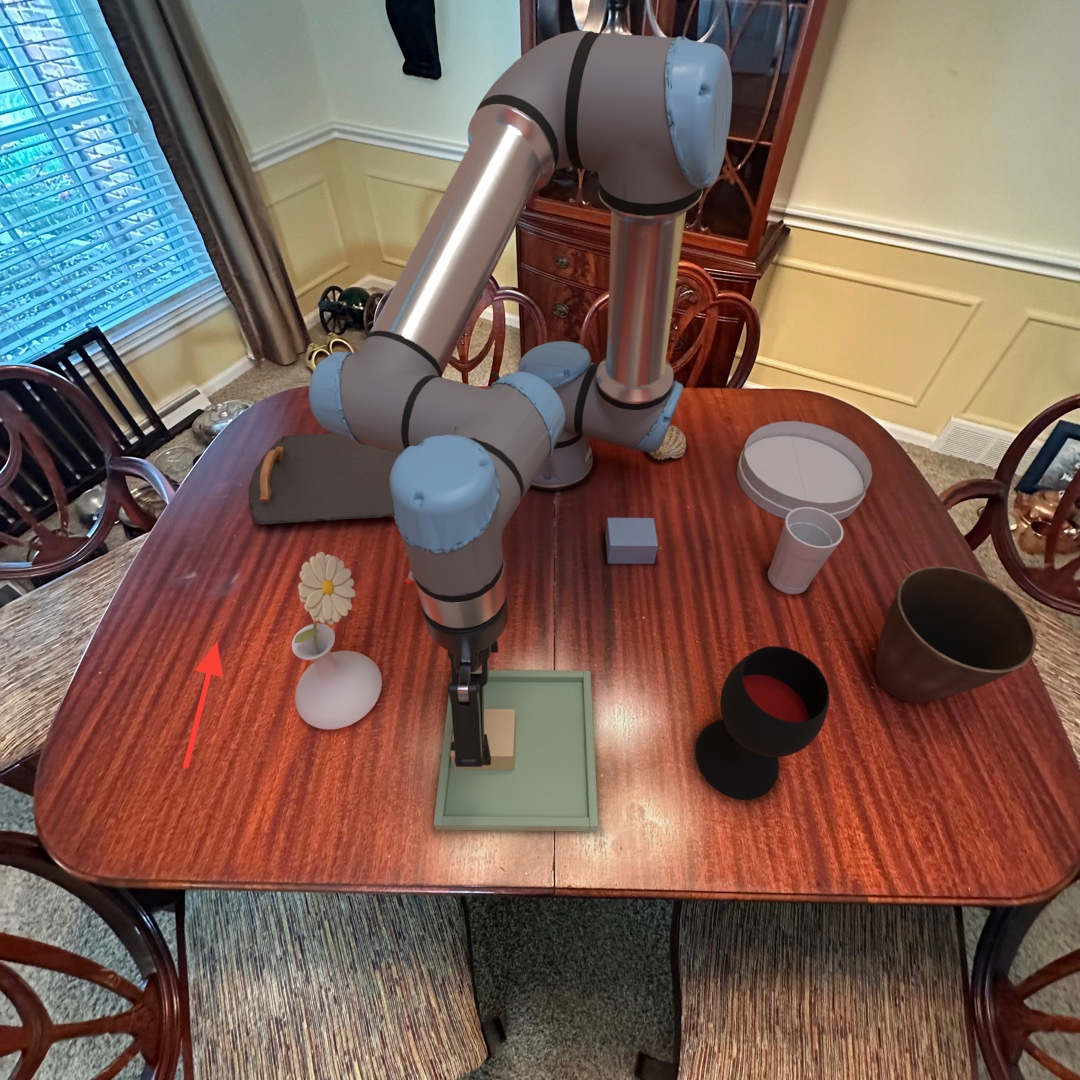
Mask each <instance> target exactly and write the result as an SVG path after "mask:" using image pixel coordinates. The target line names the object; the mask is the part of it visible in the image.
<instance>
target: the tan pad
mask: <svg viewBox="0 0 1080 1080" xmlns="http://www.w3.org/2000/svg"><path fill="white" fill-rule="evenodd" d="M484 734H487V739H488V744H489V749H490V755H491V765H483V766H482V767H456V766H455V751H451V754H450V756H451V760H452V763H453V766H454V769H455V770H514V769H515V743H516V715H515V709H484ZM452 741H454V735H452Z"/></svg>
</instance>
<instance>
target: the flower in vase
mask: <svg viewBox="0 0 1080 1080" xmlns="http://www.w3.org/2000/svg"><path fill="white" fill-rule="evenodd" d="M298 574H299V578H300V580H301V582H299V583H298V586H297V588H298V595H299V600H300V602H301V603H304V606H303V607H304V610H305V611H306V612H307V613H309V616H311V617H310V618H311V619H312V620H313V623H311V624H308V625H306V626H304V627H302V628H300V630H299V631H298V632H296V634H295V635H294V636H293V638H292V641H291V650H292V653H293V654H294V655H295V656H296V657H297V658H299V659H302V660H307V661H311V662H312V663H311V664H310V665H309V666H308V667H307V668H306V669H305V670H304V672H303V673H302V674H301V676H300V678H299V680H298V682H297V685H296V688H295V695H294V703H295V704H294V705H295V707H296V711H297V713H298V715H299V717H301V718H302V720H303V721H304V722H305V723H306V724H307V725H310V726H311V727H314V728H316V729H321V730H339V729H342V728H346V727H349V726H351V725H353V724H355V723H357V722H358V721H360V720H361V719H363V718H364V717H365V716H366V715H368V714H369V713H370V711H371V710H372V709H373V707H374V706H375V705H376V703H377V701H378V700H379V698H380V695H381V692H382V687H383V678H382V674H381V670H380V668H379V667H378V665H377V663H376V662H375V661H374V660H372V659H371V658H370V657H369V656H367V655H365V654H363V653H361V652H358V651H354V650H338V651H333V652H332V650H331V649H332V648H333V646H334V644H335V640H336V634H335V631H334V629H333V628H332V627H331V626H332V625H334V623H339V622H340V620H342V618H343V617H347V616H348V614H349V611H351V610H352V609H353V604H352V598H355V597H356V590H355V589H354V588H353V587H354V585H355V579H353V578H351V576H352V570H351V569H350V568H348V567H347V568H346V566H345V561H344V560H340V558H339V557H338V556H335V555H332V554H329V553H328V554H325V552H324V551H320V552H317V553H316V554H315V556H314V555H311V557H309V561H305V562H304V563H303V564H302V566H301V570H300V571H299V573H298ZM318 621H319V622H318ZM325 623H327V624H325Z"/></svg>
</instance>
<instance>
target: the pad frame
mask: <svg viewBox="0 0 1080 1080" xmlns="http://www.w3.org/2000/svg"><path fill="white" fill-rule="evenodd" d="M488 672H489V676H488V681H487V684H486V685H484V709H515V715H516V743H515V769H514V770H455V769H454V766H453V763H452V760H451V756H450V754H451V749H450V747H451V744H452V735H453V722H452V708H451V701H450V696H449V695H448V699H447V707H446V715H445V724H444V731H443V732H444V733H443V741H442V748H441V757H440V766H439V773H438V783H437V791H436V799H435V807H434V817H433V827H434V829H435V830H436V831H508V832H509V831H511V832H512V831H514V832H515V831H517V832H598V830H599V815H598V814H599V812H598V810H599V809H598V792H597V775H596V774H597V773H596V753H595V752H596V751H595V734H594V713H593V699H592V698H593V695H592V694H593V693H592V676H591V675H592V673H591V670H546V669H545V670H541V669H539V670H535V669H533V670H531V669H528V670H527V669H518V670H517V669H488ZM472 673H482V669H478V670H477V671H475V672H472ZM450 682H451V679H450V681H449V683H450Z"/></svg>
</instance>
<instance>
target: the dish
mask: <svg viewBox="0 0 1080 1080" xmlns="http://www.w3.org/2000/svg"><path fill="white" fill-rule="evenodd" d="M872 477H873V470H872V464H871V462H870V460H869V458H868V457H867V455H866V453H865V452H864V451H863V450H862V449H861V448H860V447H859V446H858V445H857V444H856V443H855V442H853V441H852V440H850V439H849V438H848V437H847V436H845V435H843V434H841V433H840V432H837V431H835V430H833V429H831V428H830V427H829V428H828V427H825V426H822V425H818V424H815V423H811V422H804V421H797V420H793V421H791V420H790V421H788V420H787V421H785V420H784V421H777V422H772V423H768V424H766V425H763V426H761V427H759V428H757V429H755V431H753V432H752V433H751V434H750V435H749V436H748V438H747V440H746V442H745V444H744V447H743V449H742V451H741V453H740V455H739V459H738V461H737V464H736V478H737V481H738V484H739V486H740V488H741V489H742V491H743V492H744V493H745V495H746V496H747V498H748V499H749V500H751V501H752V502H753V503H754V504H755V505H756V506H758V507H759V508H761V509H762V510H764V511H766V512H767V513H769V514H771V515H772V516H776V517H777V518H781V519H783V520H785V519H786V517H787V515H788V513H789V512H791V511H792V510H794V509H796V508H800V507H813V508H817V509H821V510H823V511H825V512H827V513H829V514H831V515H832V516H834V517H835V518H836V519H837V520H838V521H839V522H840V521H843V520H844V519H846V518H848V517H849V516H852V515H853V513H854V512H856V510H857V509H858V507H860V505H861V503H862V501H863V499H864V498H865V496H866V492H867V490H868V488H869V487H870V484H871V482H872Z"/></svg>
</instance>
